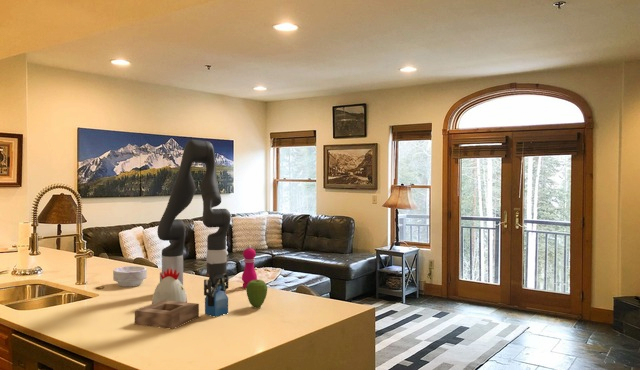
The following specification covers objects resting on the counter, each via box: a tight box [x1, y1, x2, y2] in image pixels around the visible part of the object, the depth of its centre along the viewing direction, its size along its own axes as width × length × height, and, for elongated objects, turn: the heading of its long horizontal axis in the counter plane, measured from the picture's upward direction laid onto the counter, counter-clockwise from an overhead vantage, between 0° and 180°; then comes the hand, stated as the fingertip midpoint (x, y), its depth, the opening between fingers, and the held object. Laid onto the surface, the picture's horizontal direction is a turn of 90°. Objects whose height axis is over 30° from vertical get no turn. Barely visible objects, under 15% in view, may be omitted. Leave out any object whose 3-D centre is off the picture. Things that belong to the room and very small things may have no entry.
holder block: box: [134, 300, 200, 330], centre depth 183 cm, size 16×16×5 cm
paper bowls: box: [112, 265, 148, 288], centre depth 242 cm, size 15×15×8 cm
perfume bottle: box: [204, 282, 229, 318], centre depth 192 cm, size 6×6×12 cm
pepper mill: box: [241, 244, 258, 289], centre depth 238 cm, size 7×7×20 cm
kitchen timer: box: [151, 268, 188, 304], centre depth 205 cm, size 14×14×15 cm
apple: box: [245, 279, 268, 309], centre depth 202 cm, size 9×8×12 cm
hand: (216, 303), depth 192 cm, fingers closed on perfume bottle, 7 cm apart
